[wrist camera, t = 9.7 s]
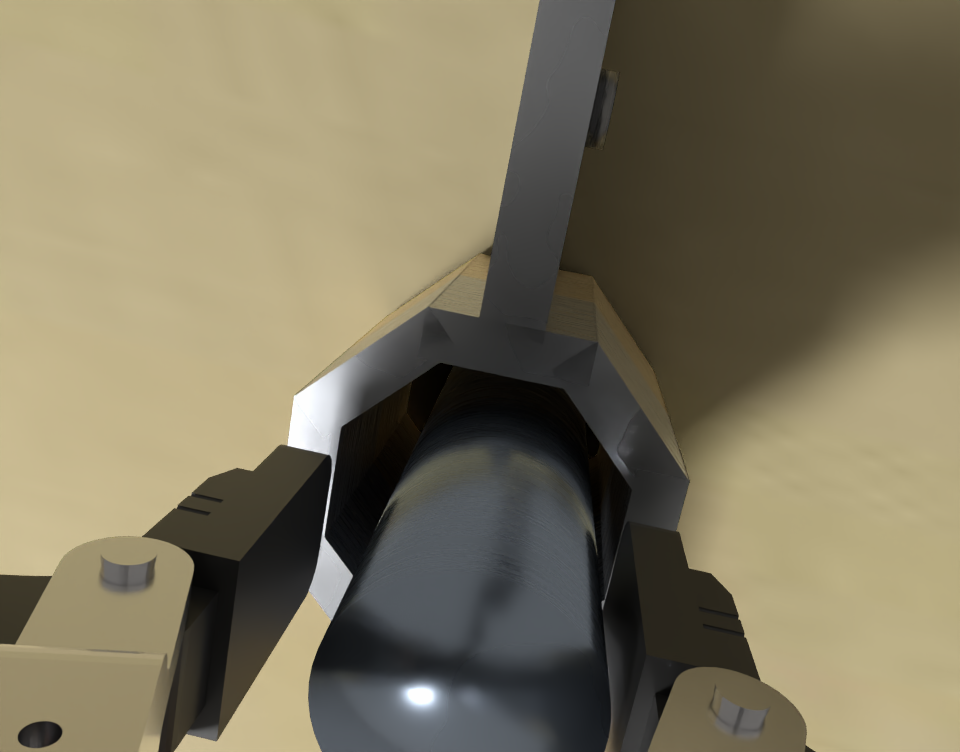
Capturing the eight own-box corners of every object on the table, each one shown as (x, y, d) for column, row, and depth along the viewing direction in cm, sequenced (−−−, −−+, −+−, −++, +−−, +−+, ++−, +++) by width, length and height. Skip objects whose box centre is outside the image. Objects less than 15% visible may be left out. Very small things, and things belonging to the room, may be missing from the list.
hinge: (453, -90, 18) (379, -228, 12) (754, -36, 18) (858, -146, 11) (321, 723, 24) (216, 954, 17) (552, 778, 23) (540, 1036, 16)
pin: (529, 303, 20) (490, 513, 9) (609, 413, 21) (671, 750, 9) (419, 381, 21) (247, 670, 9) (498, 486, 22) (428, 883, 10)
